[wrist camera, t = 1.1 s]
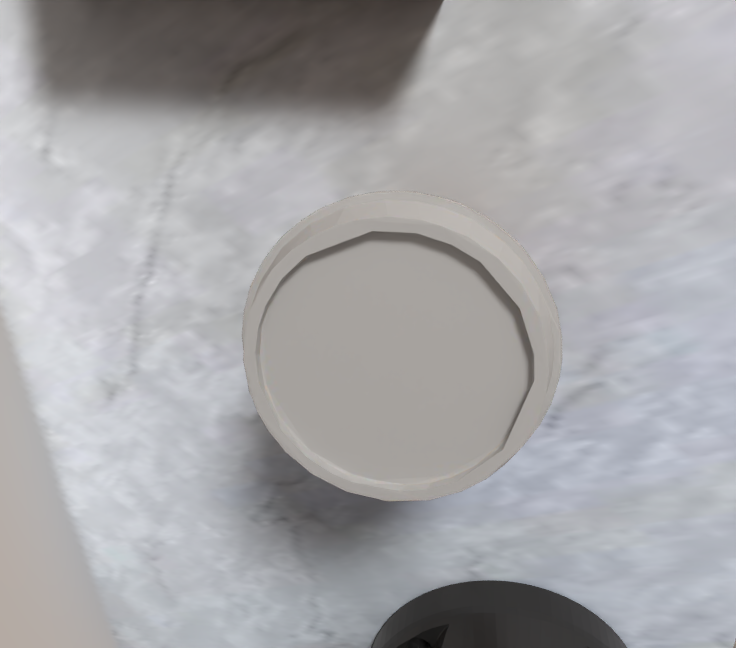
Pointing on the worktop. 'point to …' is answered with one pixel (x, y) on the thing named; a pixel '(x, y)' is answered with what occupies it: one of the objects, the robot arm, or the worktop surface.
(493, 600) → the robot arm
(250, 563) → the worktop surface
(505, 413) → the disposable coffee cup
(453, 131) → the worktop surface
